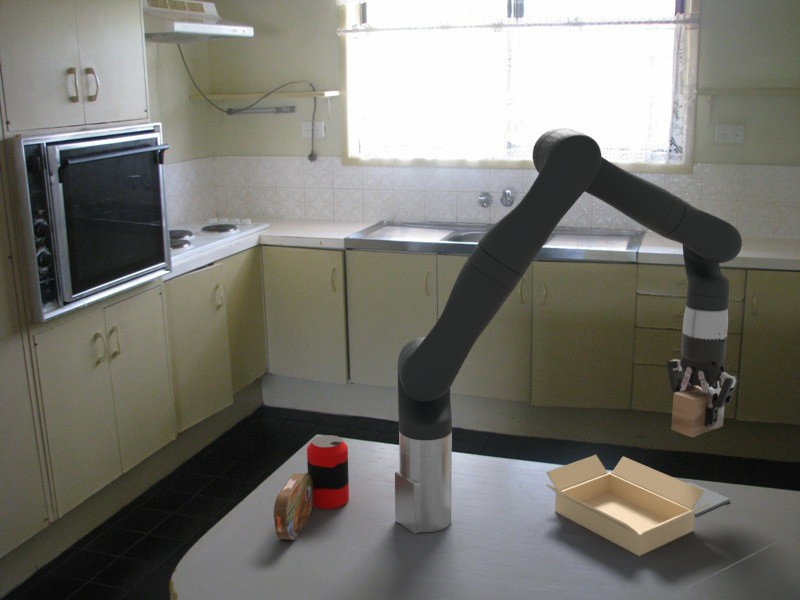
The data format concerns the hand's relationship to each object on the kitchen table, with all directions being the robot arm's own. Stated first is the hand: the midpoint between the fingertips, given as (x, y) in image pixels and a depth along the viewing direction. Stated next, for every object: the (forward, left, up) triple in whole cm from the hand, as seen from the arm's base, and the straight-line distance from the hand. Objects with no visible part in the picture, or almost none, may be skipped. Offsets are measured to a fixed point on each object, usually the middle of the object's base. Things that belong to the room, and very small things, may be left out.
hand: (697, 421), depth 158 cm
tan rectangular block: (0, 0, -1) cm, 1 cm away
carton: (-17, +2, -16) cm, 23 cm away
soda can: (-55, +40, -16) cm, 70 cm away
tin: (-65, +35, -16) cm, 75 cm away
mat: (0, 0, -16) cm, 16 cm away
